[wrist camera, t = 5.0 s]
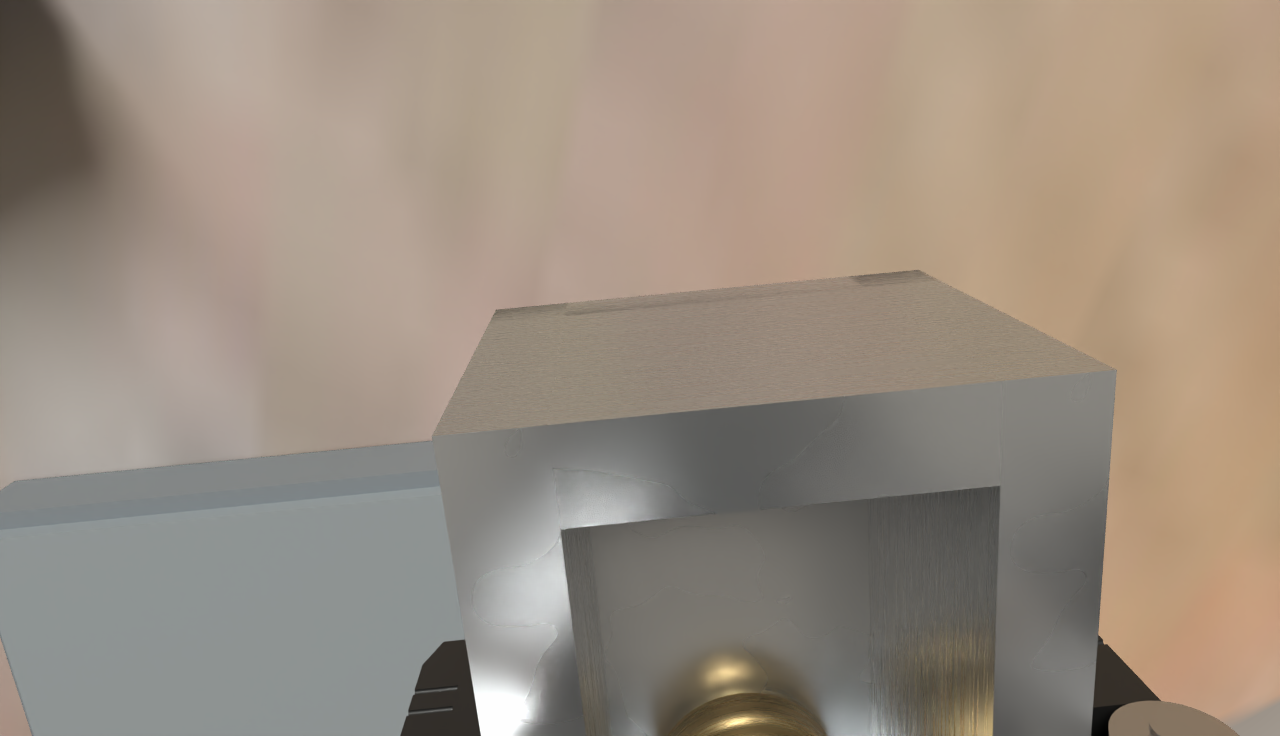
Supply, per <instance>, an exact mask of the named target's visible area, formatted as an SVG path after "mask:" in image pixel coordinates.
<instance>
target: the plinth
mask: <svg viewBox="0 0 1280 736" xmlns="http://www.w3.org/2000/svg"><path fill="white" fill-rule="evenodd" d="M0 638H1V641H2V644H3V647H4V650H5V653H6V656H7V659H8V662H9V666H10V669H11V672H12V675H13V678H14V681H15V684H16V687H17V690H18V693H19V696H20V699H21V702H22V705H23V708H24V712H25V715H26V718H27V721H28V724H29V727H30V730H31V733H32V736H400V735H401V732H402V728H403V725H404V722H405V719H406V716H408V709H409V706H410V703H411V700H412V696H413V695H415V687H416V684H417V680H418V677H419V674H420V671H421V668H422V665H423V664H424V663H425V661H426V660H427V659H428V658H429V657H430V656H431V655H432V654H433V653H434V652H435V651H436V649H437V648H438V647H439V646H440V645H441V644H442V643H443V642H445V641H455V640H465V635H464V629H463V623H462V617H461V610H460V604H459V598H458V592H457V586H456V580H455V574H454V568H453V562H452V556H451V550H450V543H449V537H448V531H447V525H446V519H445V513H444V507H443V501H442V495H441V489H440V483H439V476H438V470H437V464H436V458H435V452H434V446H433V441H426V442H415V443H405V444H395V445H384V446H374V447H363V448H353V449H343V450H332V451H322V452H312V453H301V454H291V455H281V456H270V457H260V458H250V459H239V460H229V461H219V462H208V463H198V464H188V465H177V466H167V467H157V468H146V469H136V470H126V471H115V472H105V473H95V474H84V475H74V476H63V477H53V478H43V479H32V480H22V481H14V482H13V483H11V484H10V485H8V486H7V487H5V488H4V489H2V490H1V491H0Z"/></svg>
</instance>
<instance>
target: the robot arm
mask: <svg viewBox="0 0 1280 736" xmlns="http://www.w3.org/2000/svg"><path fill="white" fill-rule="evenodd" d="M400 736H481V732H480V726H479V720H478V714H477V708H476V702H475V696H474V690H473V684H472V677H471V671H470V665H469V659H468V653H467V647H466V641H465V640H455V641H445V642H443V643H442V644H441V645H440V646H439V647H438V648H437V649H436V651H435V652H434V653H433V654H432V655H431V656H430V657H429V658H428V659H427V660H426V661H425V663H424V664H423V665H422V668H421V671H420V674H419V677H418V680H417V684H416V687H415V695H413V696H412V700H411V703H410V706H409V709H408V716H406V719H405V722H404V725H403V728H402V732H401V735H400ZM1091 736H1239V735H1238V734H1237V733H1236V732H1235V731H1234V730H1232V729H1231V728H1230V727H1229V726H1227V725H1226V724H1224V723H1223V722H1221V721H1220V720H1218V719H1216V718H1215V717H1213V716H1210V715H1208V714H1206V713H1204V712H1202V711H1199V710H1197V709H1194V708H1191V707H1188V706H1184V705H1181V704H1176V703H1171V702H1164V701H1161V700H1160V699H1159V698H1158V697H1157V696H1156V695H1155V694H1154V693H1153V692H1152V691H1151V690H1150V689H1149V688H1148V687H1147V686H1146V685H1145V684H1144V683H1143V681H1142V680H1141V679H1140V678H1139V677H1138V676H1137V675H1136V674H1135V673H1134V672H1133V671H1132V670H1131V669H1130V668H1129V667H1128V666H1127V665H1126V664H1125V663H1124V662H1123V660H1122V659H1121V658H1120V657H1119V656H1118V655H1117V654H1116V653H1115V652H1114V651H1113V650H1112V649H1111V648H1110V647H1109V646H1108V645H1107V644H1106V645H1104V644H1103V639H1102V638H1101V637H1100V636H1099V635H1098V643H1097V657H1096V671H1095V686H1094V700H1093V714H1092V728H1091Z"/></svg>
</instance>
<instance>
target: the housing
mask: <svg viewBox="0 0 1280 736" xmlns="http://www.w3.org/2000/svg"><path fill="white" fill-rule="evenodd" d="M1116 372H1117V370H1116V369H1114V368H1112V367H1110V366H1108V365H1106V364H1104V363H1102V362H1100V361H1098V360H1096V359H1094V358H1092V357H1090V356H1088V355H1086V354H1084V353H1082V352H1080V351H1078V350H1076V349H1074V348H1072V347H1070V346H1068V345H1066V344H1064V343H1062V342H1060V341H1058V340H1056V339H1055V338H1053V337H1051V336H1049V335H1047V334H1045V333H1043V332H1041V331H1039V330H1037V329H1035V328H1033V327H1031V326H1029V325H1027V324H1025V323H1023V322H1021V321H1019V320H1017V319H1015V318H1013V317H1011V316H1009V315H1007V314H1005V313H1003V312H1001V311H999V310H997V309H995V308H993V307H991V306H989V305H987V304H985V303H983V302H981V301H979V300H977V299H975V298H973V297H971V296H969V295H967V294H965V293H963V292H961V291H959V290H957V289H955V288H953V287H951V286H949V285H947V284H945V283H943V282H941V281H939V280H937V279H935V278H933V277H931V276H929V275H927V274H926V273H924V272H922V271H920V270H913V271H902V272H892V273H881V274H870V275H860V276H849V277H839V278H828V279H817V280H807V281H796V282H786V283H775V284H765V285H754V286H743V287H733V288H722V289H712V290H701V291H690V292H680V293H669V294H659V295H648V296H638V297H627V298H616V299H606V300H595V301H585V302H574V303H564V304H553V305H542V306H532V307H521V308H511V309H500V310H496V311H495V313H494V315H493V317H492V319H491V321H490V323H489V325H488V327H487V329H486V331H485V333H484V335H483V337H482V339H481V341H480V342H479V344H478V346H477V348H476V350H475V352H474V354H473V356H472V358H471V360H470V362H469V364H468V366H467V368H466V370H465V372H464V374H463V376H462V378H461V380H460V382H459V384H458V386H457V388H456V390H455V392H454V394H453V396H452V398H451V400H450V402H449V404H448V406H447V408H446V409H445V411H444V413H443V415H442V417H441V419H440V421H439V423H438V425H437V427H436V429H435V431H434V433H433V435H432V440H433V446H434V452H435V458H436V464H437V470H438V476H439V483H440V489H441V495H442V501H443V507H444V513H445V519H446V525H447V531H448V537H449V543H450V550H451V556H452V562H453V568H454V574H455V580H456V586H457V592H458V598H459V604H460V610H461V617H462V623H463V629H464V635H465V641H466V647H467V653H468V659H469V665H470V671H471V677H472V684H473V690H474V696H475V702H476V708H477V714H478V720H479V726H480V732H481V736H1091V728H1092V714H1093V700H1094V686H1095V671H1096V657H1097V643H1098V629H1099V614H1100V600H1101V586H1102V572H1103V557H1104V543H1105V529H1106V515H1107V500H1108V486H1109V472H1110V457H1111V443H1112V429H1113V415H1114V400H1115V386H1116Z"/></svg>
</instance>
